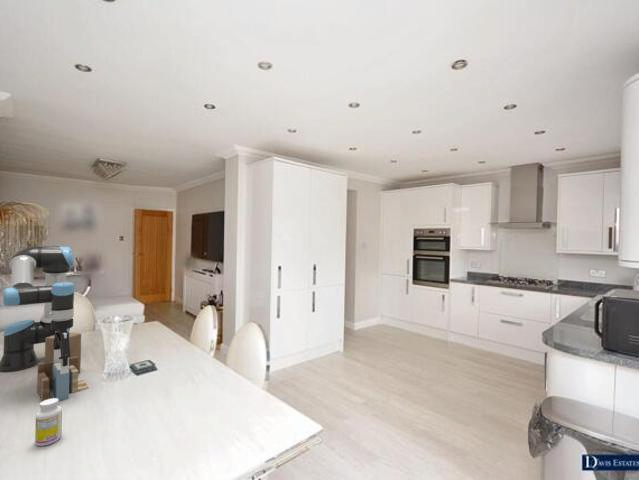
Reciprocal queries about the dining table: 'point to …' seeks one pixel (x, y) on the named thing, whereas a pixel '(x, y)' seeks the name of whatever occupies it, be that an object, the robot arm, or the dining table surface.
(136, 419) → the dining table surface
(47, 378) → the shelf corner
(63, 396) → the book box
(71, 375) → the bookend
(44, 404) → the supplement bottle
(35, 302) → the robot arm
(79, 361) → the wooden block
